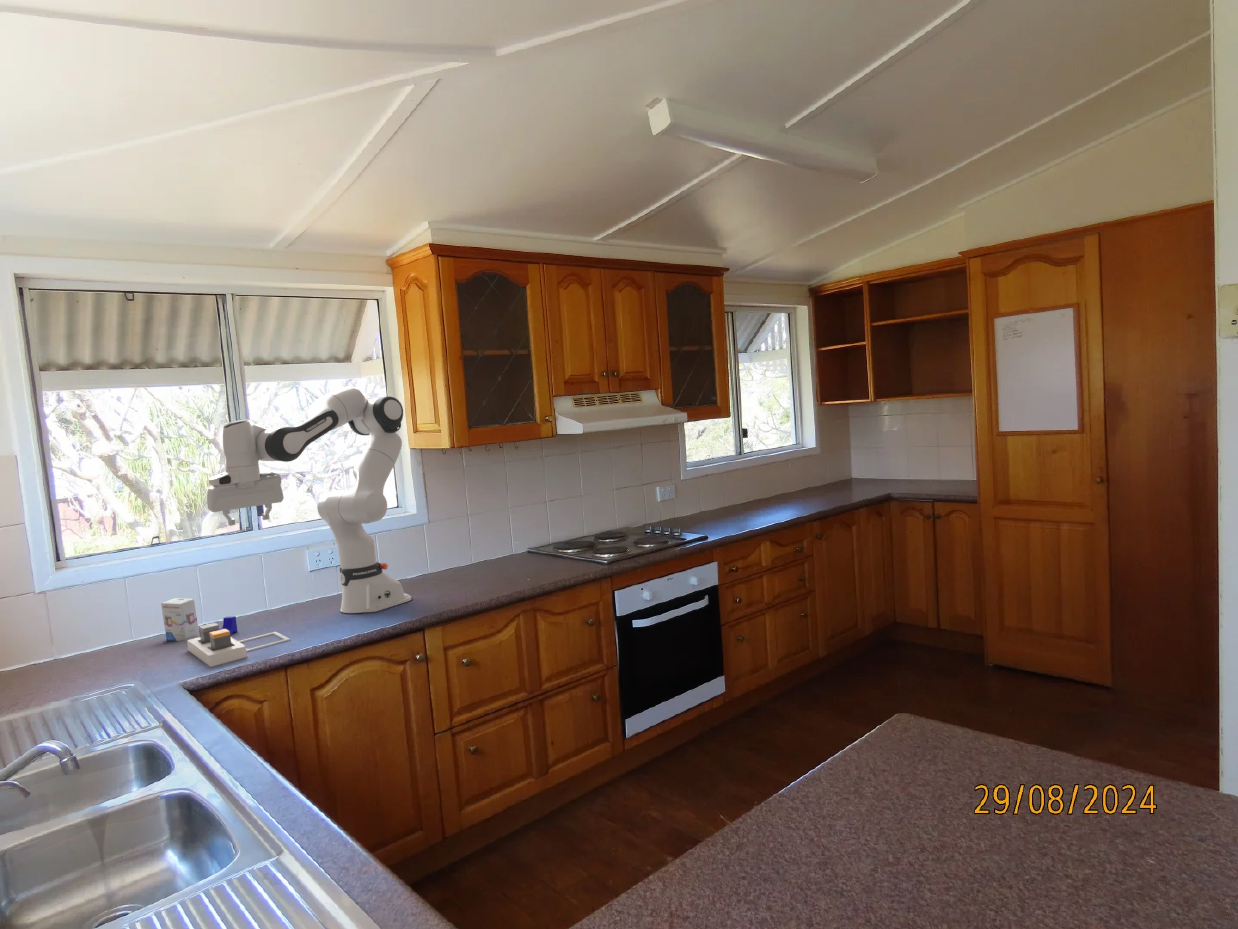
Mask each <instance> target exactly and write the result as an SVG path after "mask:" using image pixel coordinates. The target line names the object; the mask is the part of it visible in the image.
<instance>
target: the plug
mask: <svg viewBox="0 0 1238 929" xmlns="http://www.w3.org/2000/svg"><path fill="white" fill-rule="evenodd" d="M209 634H210V642H211V650H212V651H216V650H220V649H224V648H228V647H231V646H232V645H231V637H232V636H231V635H230V631H229V630H227V629H222V630H218V631H214V632H209Z"/></svg>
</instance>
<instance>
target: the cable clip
mask: <svg viewBox="0 0 1238 929" xmlns="http://www.w3.org/2000/svg"><path fill="white" fill-rule="evenodd" d="M222 618H223V623H222V624H223V625H222V626H221V627H219V630H222V629H227V630H229V631H230V636H232V635H233V634H234V633H235V634H236V633H238V626H237V625H238V624H237V617H236V616H234V615H232V616H231V615H230V616H225V617H222ZM199 635H200V631H199Z"/></svg>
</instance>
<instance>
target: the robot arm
mask: <svg viewBox="0 0 1238 929" xmlns="http://www.w3.org/2000/svg"><path fill="white" fill-rule="evenodd" d="M308 416H309V418H308V419H306V420H305V421H303V422H302V423H299V424H298V425H296V426H285V427H279V428H267V427H263V426H260V425H258V424H256V423H254V422H252V420H250V419H248V418H247V419H245V418H244V419H238V420H233V421H230V422H228V423H226V424H224V425H223V427H222V429H221V446H222V452H223V456H224V457H225V458H224V459H225V464H224V469H225V471H224V472H221V473H219V474H216V475H214V476H212V477H209V479H208V484H209V485H210V487H208V490H207V493H206V498H207V499H206V501H207V502H206V504H207V509H208V511H210V512H212V513H218V512H221V513H222V515H223V516H224V517H225V518H226V520H227V525H228V526H236V518H231V516H230V514H231V510H238V509H244V508H251V507H258V506H264V508H265V511H264V513H261V517H262V521H267V520H270V512H271V511H272V508H273V506H272V505H273V504H277V503H282V502H283V501H284V498H285V496H284V494H283V493H284V492H283V488H282V486H281V485H282V478H281V475H280V474H279V473H277V472H275V471H272V472H263V473H260V472H261V471H260V465H259V462H260V461H261V462H285V463H287V462H293V461H295V460H297V459H298V458H299V457H300V456H301V454H302V453H303V452H304V451H305V450H306V448H307V447H308V446H309V445H310V444H312V443H313V442H315V441H316V440H319V438H321V437H323V436H325V435H326V434H328V433H329V432H330V431H334V430H336V429H339V428H340V427H342V426H344V425H346V424H348V426H349V427H350V429H351V430H352V431H353V432H354V433H355V434H357V435H359V436H369V437H368V442H367V445H366V446H365V448H364V450H363V451H362V453H361V455H360V457H359V458H358V460H357V461H356V463H355V466H354V467H353V469H352V474H353V477H354V478H355V480H356V482H355V484H354V486H353V487H352V488H351V489H335V490H331V491H328V492H326V493H323V494H322V495H321V496H320V497H319V498H318V501H317V507H316V508H317V513H318V515H319V516H320V518H321V519H323V520H324V521H325V522H326V523H327V525H328V526H329V528H330V530H331V532H332V534H333V536H334V538H335V541H336V544H337V549H338V557H339V563H340V564H339V565H340V567H339V579H340V580H339V581H340V582H341V583H340V585H341V587H342V588H341V590H342V591H341V606H340V610H339V611H340V612H341V613H343V614H359V613H361V614H362V613H375V612H379V611H382V610H385V609H389V608H392V607H394V606H398V605H400V604H404V603H406V602H409V601H411V600H412V596H411V595H410V594H408V593H405V592H404V589H403V586H402V584H401V582H400V581H399V580H397V579H395V578H394V577H392V576H391V575H389V574H387V573H385V572H383V570H385V571H386V570H387V569H388V568H389V566H388V564H387V563H385V562H382V563H381V562H377V556H376V549H375V548H376V546H375V541H374V539H373V537H372V536H371V535H370V534H368V533H367V532H366V530H365V528H364V526H363V524H365V525H367V524H372V523H375V522H378V521H381V520H382V519H383V518H384V517H385V515H386V514H387V510H388V502H387V498H386V497H385V494H384V489H385V484H386V482H387V480H388V478H389V477H390V474H391V472H392V471H393V468H394V467H395V465H396V463H397V460H398V458H399V455H400V453H401V449H402V445H403V440H402V438H401V437H400V435H399V434H398V433H397V432H399V430H400V429H401V428H402V421H403V418H404V407H403V405H402V403H401V401H399V399H397V398H396V397H394V396H391V395H390V396H389V395H384V396H380V397H378V398H373V399H371V400H368V399H367V398H366V397H365V394H364V393H363V392H362V391H361V389H359V388H358V387H355V386H346V387H342V388H340V389H339V388H338V389H336V390H334V391H330V392H329V393H327V394H325V395H323V396H321V397H319V398H318V399H316V400H315V401H314V402H313V403H311V404H310V406H309V409H308Z"/></svg>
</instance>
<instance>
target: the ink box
mask: <svg viewBox="0 0 1238 929" xmlns="http://www.w3.org/2000/svg"><path fill="white" fill-rule="evenodd" d="M160 604H161V611H162V617H163V618H162V619H163V625H164V631H165V638H166V640H167V641H174V642H175V641H178V642H180V641H183V640H184V641H185V640H190V639H194V638H198V637H200V634H199V624H198V617H197V616H198V615H197V610H196V604H195V599H194V598H184V597H183V598H182V597H181V598H180V597H174V598H172V599H169V600H166V601H164V602H161V603H160Z"/></svg>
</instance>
